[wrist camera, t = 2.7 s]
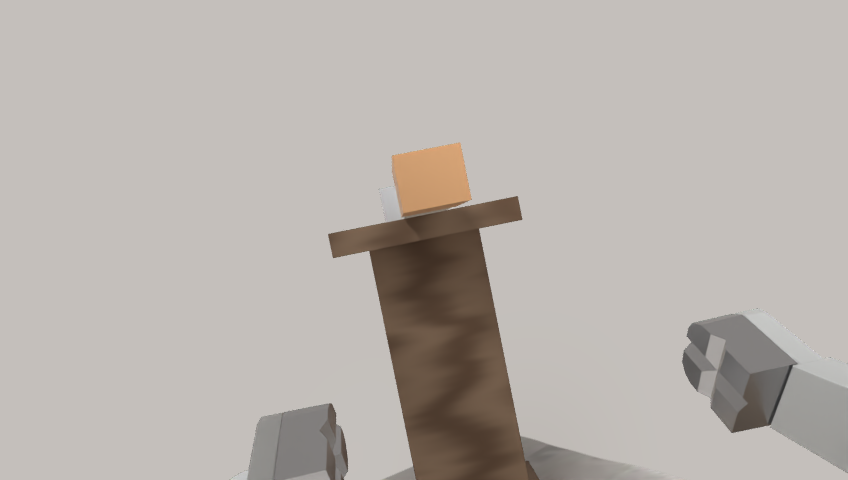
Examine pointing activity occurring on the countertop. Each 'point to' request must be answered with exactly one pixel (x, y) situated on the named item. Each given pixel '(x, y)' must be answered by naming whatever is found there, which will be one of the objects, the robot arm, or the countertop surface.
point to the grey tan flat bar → (426, 183)
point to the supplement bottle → (241, 476)
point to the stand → (445, 340)
